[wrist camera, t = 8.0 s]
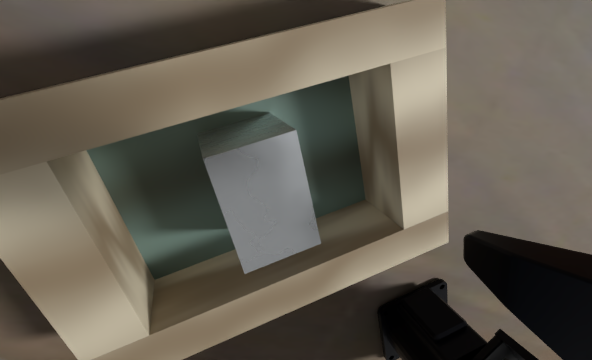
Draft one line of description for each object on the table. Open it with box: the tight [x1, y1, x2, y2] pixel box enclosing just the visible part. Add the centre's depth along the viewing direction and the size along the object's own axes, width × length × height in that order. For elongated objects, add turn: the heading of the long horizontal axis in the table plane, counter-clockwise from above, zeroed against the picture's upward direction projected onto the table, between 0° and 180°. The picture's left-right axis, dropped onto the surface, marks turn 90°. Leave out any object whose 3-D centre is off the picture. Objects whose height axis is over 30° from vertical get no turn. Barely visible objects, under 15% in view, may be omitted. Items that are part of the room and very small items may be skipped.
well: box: [0, 0, 449, 360], centre depth 17 cm, size 14×20×4 cm
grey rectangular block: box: [197, 112, 321, 274], centre depth 17 cm, size 6×4×4 cm, turn 12°
